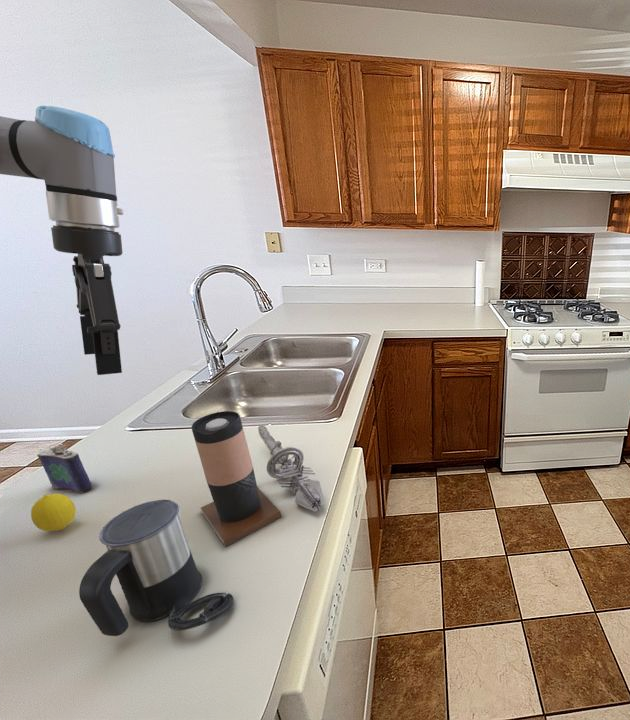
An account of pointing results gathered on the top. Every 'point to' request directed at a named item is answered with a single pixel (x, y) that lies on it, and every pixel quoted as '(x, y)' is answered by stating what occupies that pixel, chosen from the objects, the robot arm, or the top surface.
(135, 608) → the milk frother
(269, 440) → the spaceship
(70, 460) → the flask
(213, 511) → the serving board
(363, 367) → the top surface
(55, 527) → the lemon
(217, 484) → the travel mug
